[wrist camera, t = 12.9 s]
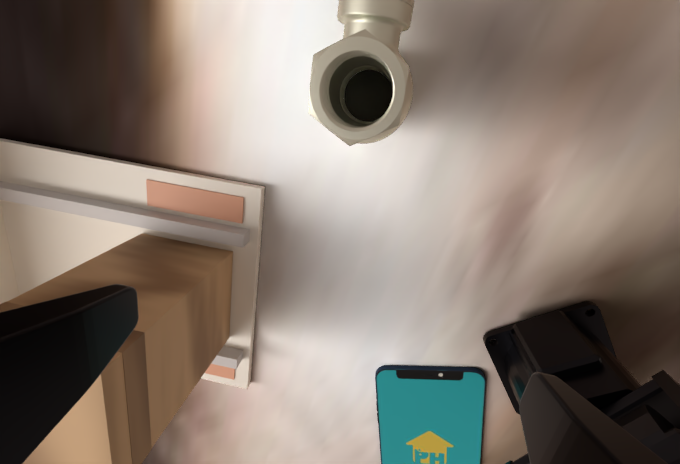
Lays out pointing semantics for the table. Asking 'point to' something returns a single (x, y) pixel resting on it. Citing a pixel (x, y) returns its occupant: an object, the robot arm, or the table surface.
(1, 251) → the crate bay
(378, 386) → the smartphone
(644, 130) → the table surface
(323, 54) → the valve
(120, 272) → the tan wooden block
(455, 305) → the table surface
